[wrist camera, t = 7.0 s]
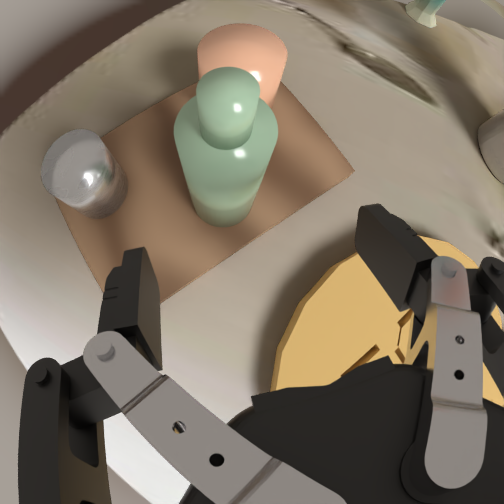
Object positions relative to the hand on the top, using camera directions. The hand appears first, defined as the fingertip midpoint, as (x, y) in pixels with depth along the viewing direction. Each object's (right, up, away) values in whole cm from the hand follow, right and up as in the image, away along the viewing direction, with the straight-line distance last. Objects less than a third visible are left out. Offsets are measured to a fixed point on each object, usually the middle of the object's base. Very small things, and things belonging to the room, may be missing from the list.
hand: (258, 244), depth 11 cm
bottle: (-2, +4, +13) cm, 14 cm away
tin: (-13, +5, +12) cm, 18 cm away
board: (-5, +6, +15) cm, 17 cm away
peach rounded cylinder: (-2, +13, +14) cm, 20 cm away
